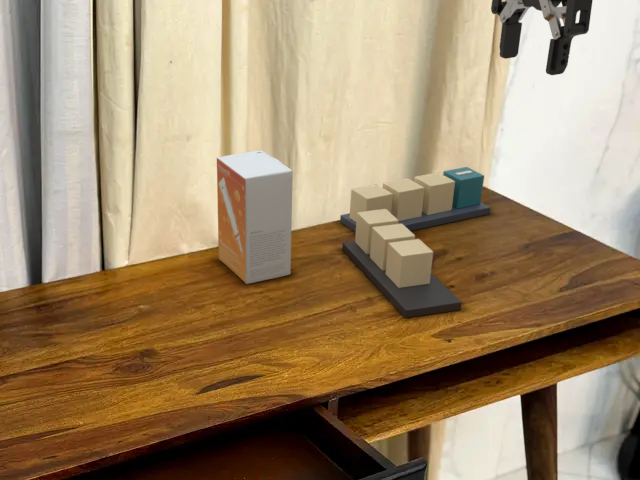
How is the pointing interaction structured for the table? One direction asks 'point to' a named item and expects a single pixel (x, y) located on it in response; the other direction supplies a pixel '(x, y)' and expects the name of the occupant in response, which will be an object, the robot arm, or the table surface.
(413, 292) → the near word
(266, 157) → the small box
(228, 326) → the table surface
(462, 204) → the teal marked cube
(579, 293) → the table surface
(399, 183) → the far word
